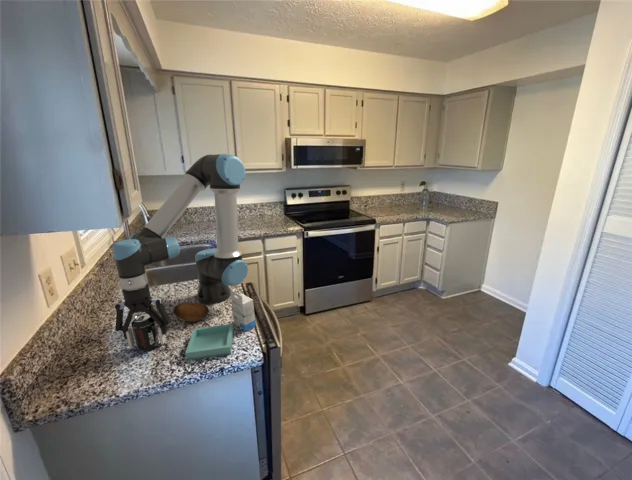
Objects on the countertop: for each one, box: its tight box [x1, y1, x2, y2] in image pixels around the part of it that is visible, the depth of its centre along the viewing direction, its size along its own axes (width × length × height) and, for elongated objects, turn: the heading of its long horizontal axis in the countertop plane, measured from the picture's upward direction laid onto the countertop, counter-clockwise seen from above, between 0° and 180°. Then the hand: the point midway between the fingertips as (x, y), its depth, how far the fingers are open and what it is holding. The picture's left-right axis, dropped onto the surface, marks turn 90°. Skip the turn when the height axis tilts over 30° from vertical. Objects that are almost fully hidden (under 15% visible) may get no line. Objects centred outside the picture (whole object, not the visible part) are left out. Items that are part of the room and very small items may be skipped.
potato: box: [172, 302, 210, 323], centre depth 118 cm, size 8×13×8 cm
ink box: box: [230, 290, 256, 332], centre depth 112 cm, size 8×5×15 cm, turn 47°
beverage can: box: [131, 312, 160, 352], centre depth 101 cm, size 7×7×12 cm
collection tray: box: [184, 323, 235, 362], centre depth 103 cm, size 14×14×3 cm
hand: (148, 343), depth 103 cm, fingers open, 9 cm apart
